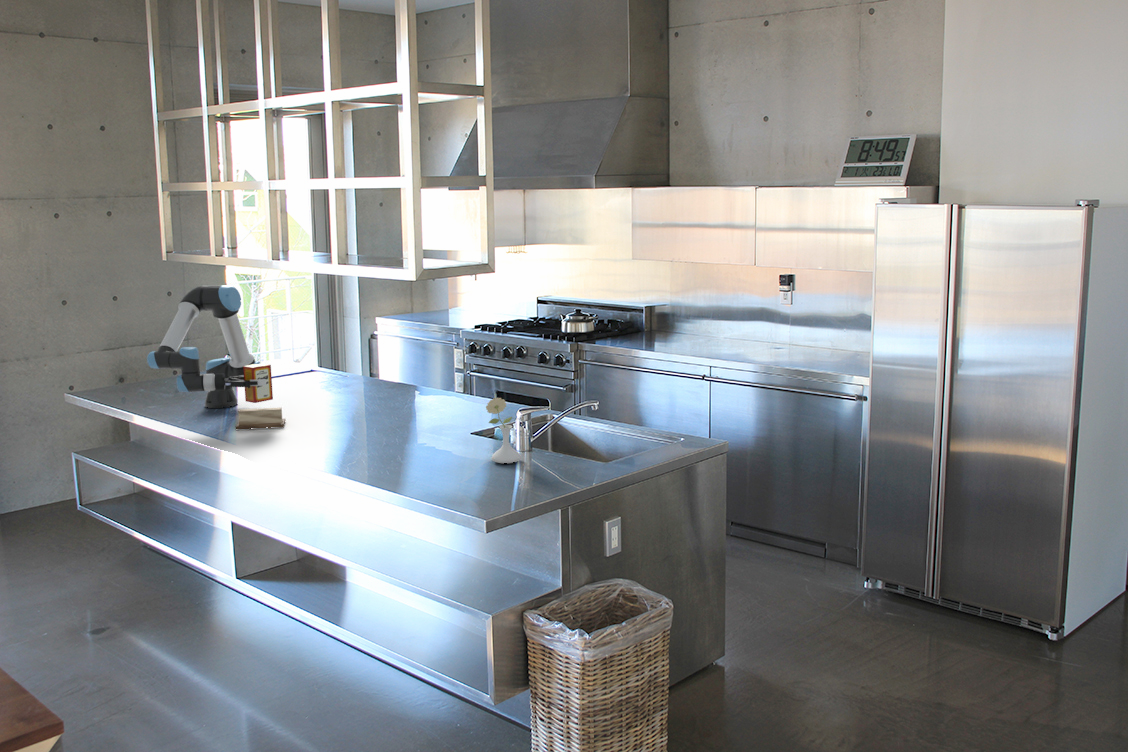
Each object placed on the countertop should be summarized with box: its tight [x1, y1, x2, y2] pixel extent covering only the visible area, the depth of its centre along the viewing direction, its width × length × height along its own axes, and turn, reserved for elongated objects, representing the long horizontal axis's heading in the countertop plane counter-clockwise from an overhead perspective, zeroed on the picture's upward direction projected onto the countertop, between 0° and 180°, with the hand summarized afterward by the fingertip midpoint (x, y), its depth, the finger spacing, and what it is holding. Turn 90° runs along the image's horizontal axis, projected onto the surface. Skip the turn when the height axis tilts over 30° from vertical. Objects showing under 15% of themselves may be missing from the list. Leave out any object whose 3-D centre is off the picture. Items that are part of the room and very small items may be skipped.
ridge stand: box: [235, 407, 286, 430], centre depth 418 cm, size 12×20×8 cm, turn 102°
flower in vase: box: [485, 397, 522, 464], centre depth 354 cm, size 13×11×25 cm
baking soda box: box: [243, 362, 274, 404], centre depth 415 cm, size 10×6×16 cm
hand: (267, 379), depth 415 cm, fingers closed on baking soda box, 11 cm apart
